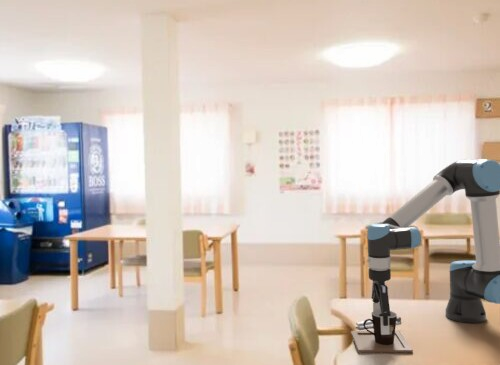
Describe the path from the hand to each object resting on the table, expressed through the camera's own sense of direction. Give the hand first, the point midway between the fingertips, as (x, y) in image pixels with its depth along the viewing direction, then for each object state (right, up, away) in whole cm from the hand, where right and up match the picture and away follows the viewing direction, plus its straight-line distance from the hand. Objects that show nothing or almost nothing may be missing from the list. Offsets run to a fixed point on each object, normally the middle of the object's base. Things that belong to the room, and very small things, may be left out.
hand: (381, 327), depth 170 cm
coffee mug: (0, -5, 0) cm, 5 cm away
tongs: (+4, -5, +19) cm, 20 cm away
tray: (0, -6, 0) cm, 6 cm away
